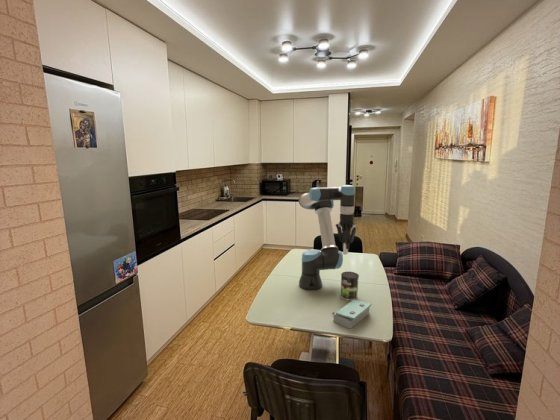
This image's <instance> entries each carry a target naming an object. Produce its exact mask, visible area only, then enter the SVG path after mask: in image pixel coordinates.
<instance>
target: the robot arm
mask: <svg viewBox="0 0 560 420" xmlns="http://www.w3.org/2000/svg"><path fill="white" fill-rule="evenodd" d="M355 194H356V189H355V186H354V185H350V184H342V185H341V186H339V185H338V186H334V187H333V186H331V187H329V186H328V187H311V188H310V189H309V192H306V193H302V194H301V195H300V196H299V198H298V204H299V205H300V207H302V208H303V209H306V210H309V211H310V210H314V213H315V214H316V215H317V218H318V225H319V232H320V233H319V234H320V238H321V244H322V248H321V249H312V248H311V249H307V250H305V251H303V252H302V255H301V276H300V277H299V281H298V286H299V287H300V288H301V289H303V290H307V291H316V290H319V289H321V288H322V287H323V281H322V278H321V274H320V271H325V270H326V271H327V270H328V271H329V270H338V269H340V268H342V265H343V261H344V256H343V255H348V254H349V249H350V244H352V243H353V242H354V238H355V235H356V233H357V230H358V226H356V225H355V223H354V221H355V220H354V219H355V198H356V197H355ZM334 201H340V204H339V206H340V207H339V212H340V213H339V222H338V223H336V224H335V227H336V230H337V235H338V236H337V237H338V240H339V242H341V243H342V244H341V248H342V250H343V251H341V250H339V247H338V246H337V245H336V241H335V240H336V239H335V236H334V228H333V223H332V222H333V221H332V215H331V212H332V209H333V208H334V205H335V204H334V203H335V202H334Z"/></svg>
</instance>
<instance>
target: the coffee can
mask: <svg viewBox="0 0 560 420" xmlns="http://www.w3.org/2000/svg"><path fill="white" fill-rule="evenodd" d="M340 276H341V281H340V298H342V299H343V300H345V301H353V300H352V299H353V298H354V300H357V299H358V291H359V277H360V275H359V274H358V273H357V272H354V271H344V272H342V273H340Z"/></svg>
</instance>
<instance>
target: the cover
mask: <svg viewBox="0 0 560 420" xmlns="http://www.w3.org/2000/svg"><path fill="white" fill-rule="evenodd" d="M371 306H372V303H371V302H370V303H369V302H366V301H361V300H357V299H356V300H350V301H349V302H348V303H347V304H346V305H344V306H343V307H342V308H340V309H339V310H337V311H336V312H335V313H336V314H337V315H341V316H344V317H347V318H351V319H355V318H357V317H358V316H359V315H360V314H362V313H363V312H364V311H365V310H366V309H368V308H369V307H371ZM369 309H370V308H369Z"/></svg>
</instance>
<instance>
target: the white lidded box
mask: <svg viewBox="0 0 560 420" xmlns="http://www.w3.org/2000/svg"><path fill="white" fill-rule="evenodd" d="M353 300H354V298H353V299H352V300H351V301H353ZM370 307H371V306H370ZM370 307H369V308H368V309H366V310H365V311H364V312H363V313H362V314H360V315H359V316H358V317H357V318H355V319H351V318H347V317H344V316H341V315H337V314H336V312H332V313H331V314H332V315H333V323H336V324H338V325H341V326H343V327H346V328H348V329H353V327H354V326H356V325H357V324H358V323H359V322H360V321H362V320H363V319H364V318H365V317H366V316H368V315H369V313H370Z"/></svg>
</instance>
